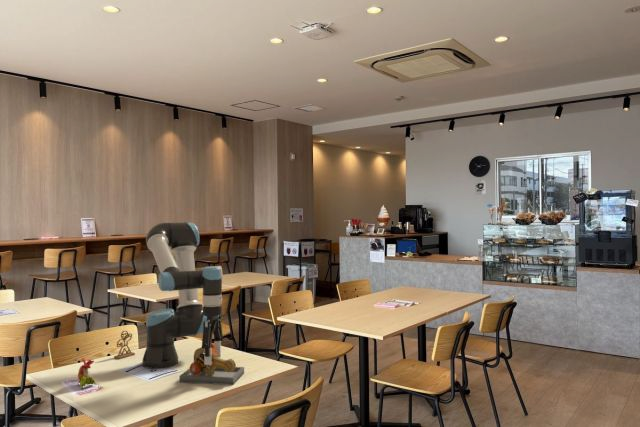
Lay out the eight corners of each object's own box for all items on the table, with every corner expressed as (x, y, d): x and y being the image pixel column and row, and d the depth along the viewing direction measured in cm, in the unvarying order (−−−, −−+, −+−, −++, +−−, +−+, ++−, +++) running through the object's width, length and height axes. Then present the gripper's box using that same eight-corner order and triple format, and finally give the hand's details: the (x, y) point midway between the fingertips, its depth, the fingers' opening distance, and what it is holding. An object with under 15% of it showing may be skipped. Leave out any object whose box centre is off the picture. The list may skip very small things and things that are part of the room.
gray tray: (179, 382, 191) (179, 375, 191) (193, 371, 205) (193, 365, 205) (233, 384, 188) (233, 378, 188) (244, 373, 202) (244, 367, 202)
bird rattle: (72, 392, 186) (82, 387, 181) (67, 363, 189) (77, 358, 184) (89, 388, 191) (99, 383, 186) (83, 360, 194) (93, 354, 189)
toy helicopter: (200, 369, 203) (203, 336, 204) (240, 379, 193) (242, 344, 194) (186, 373, 196) (189, 339, 197) (226, 384, 186) (229, 347, 186)
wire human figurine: (118, 359, 222) (118, 333, 222) (113, 358, 224) (113, 332, 224) (135, 354, 230) (135, 329, 230) (129, 353, 232) (129, 328, 232)
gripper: (211, 310, 185) (211, 369, 184) (230, 300, 207) (230, 353, 207) (192, 309, 186) (192, 368, 185) (213, 300, 208) (213, 353, 208)
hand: (212, 360), depth 196 cm, fingers open, 10 cm apart
